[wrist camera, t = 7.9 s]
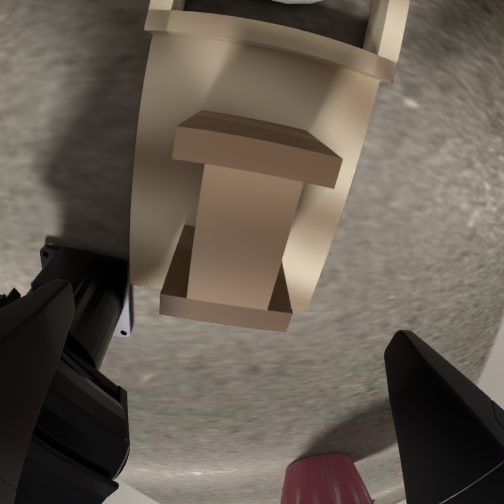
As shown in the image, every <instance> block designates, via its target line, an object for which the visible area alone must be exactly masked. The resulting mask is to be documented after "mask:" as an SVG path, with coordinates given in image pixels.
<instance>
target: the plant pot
mask: <svg viewBox="0 0 504 504" xmlns="http://www.w3.org/2000/svg"><path fill="white" fill-rule="evenodd" d="M280 504H373V502H372V499H371V497H370V495H369V493H368V491H367V489H366V487H365V485H364V483H363V481H362V479H361V477H360V475H359V473H358V471H357V469H356V467H355V465H354V463H353V461H352V459H351V457H350V456H348V455H346V454H341V453H329V454H321V455H316V456H311V457H308V458H304V459H301V460H299V461H296V462H294V463H293V464H291V465H290V466H289V467H288V468H287V469H286V473H285V479H284V485H283V490H282V496H281V502H280Z"/></svg>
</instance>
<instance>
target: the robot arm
mask: <svg viewBox="0 0 504 504" xmlns="http://www.w3.org/2000/svg"><path fill="white" fill-rule="evenodd" d="M46 252H48V254H47V253H46ZM40 257H41V263H42V270H41V272H40V273H39V274H38V275H37V277H36V278H35V279H34V280H33V282H32V283H31V289H30V290H29V292H28V293H27V294H26V295H25V296H23V297H20V296H21V294H20V293H19V292H18V291H17V290H16V289H15V288H13V289H12V290H11V291H10V293H9V294H8V295H7V296H6V295H5V294H3V295H0V504H102V502H103V501H104V500H105V499H106V498H107V497H108V496H110V495H111V494H112V493H113V492H115V491H116V490H117V489H118V487H119V484H118V483H117V482H115V481H113V480H114V479H115V478H117V476H118V475H119V474H120V473H121V472H122V470H123V468H124V466H125V464H126V462H127V459H128V456H129V451H130V439H129V425H128V406H127V391H126V390H124V389H123V388H122V387H120V386H117V385H116V384H114V383H113V382H112V381H110V380H109V379H108V378H107V377H105V376H104V375H103V374H102V373H101V372H99V369H100V366H101V364H102V361H103V358H104V356H105V353H106V351H107V348H108V346H109V343H110V341H111V338H112V336H113V335H114V336H118V337H123V338H128V337H129V336H130V334H131V331H132V329H131V309H130V267H129V264H128V262H127V261H126V260H124V259H121V258H115V257H110V256H104V255H99V254H96V253H93V252H88V251H82V250H77V249H72V248H67V247H56V246H51V245H44V246H43V247H42V248H41V250H40ZM119 266H122V267H123V268H124V269H121V268H120V267H119ZM123 330H124V331H123ZM125 331H126V332H125ZM384 360H385V368H386V375H387V384H388V392H389V400H390V406H391V411H392V416H393V421H394V426H395V431H396V437H397V442H398V448H399V454H400V460H401V466H402V472H403V479H404V486H405V494H406V502H407V504H504V410H503V409H502V408H501V407H500V406H499V405H497V404H496V403H495V402H494V401H493V400H491V399H490V398H489V397H488V396H487V395H486V394H485V393H484V392H483V391H482V390H480V389H479V388H478V387H477V386H476V385H475V384H474V383H472V382H471V381H470V380H469V379H468V378H467V377H465V376H464V375H463V374H462V373H461V372H460V371H458V370H457V369H456V368H455V367H454V366H453V365H451V364H450V363H449V362H448V361H447V360H445V359H444V358H443V357H442V356H441V355H440V354H438V353H437V352H436V351H435V350H434V349H432V348H431V347H430V346H429V345H428V344H426V343H425V342H424V341H423V340H422V339H420V338H419V337H418V336H417V335H416V334H414V333H413V332H412V331H410V330H398V331H397V332H396V333H395V335H394V336H393V338H392V340H391V341H390V343H389V344H388V346H387V348H386V349H385V353H384Z"/></svg>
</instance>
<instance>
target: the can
mask: <svg viewBox="0 0 504 504" xmlns="http://www.w3.org/2000/svg"><path fill="white" fill-rule="evenodd" d="M273 1H278V2H282V3H286V4H292V3H315V2H319V1H322V0H273Z"/></svg>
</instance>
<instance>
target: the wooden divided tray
mask: <svg viewBox="0 0 504 504" xmlns="http://www.w3.org/2000/svg"><path fill="white" fill-rule="evenodd" d="M409 2H410V0H373V1H372V6H371V11H370V16H369V21H368V25H367V30H366V34H365V39H364V43H363V48H362V49H360V48H358V47H355V46H352V45H349V44H346V43H343V42H340V41H337V40H334V39H330V38H327V37H324V36H320V35H317V34H313V33H310V32H306V31H302V30H298V29H294V28H290V27H286V26H282V25H277V24H273V23H268V22H263V21H258V20H252V19H246V18H240V17H234V16H227V15H220V14H212V13H202V12H191V11H183V8H184V4H185V0H151V1H150V5H149V9H148V13H147V17H146V22H145V26H144V30H145V31H147V32H149V33H151V34H153V36H152V41H151V45H150V50H149V56H148V61H147V66H146V72H145V78H144V84H143V90H142V97H141V104H140V111H139V119H138V127H137V136H136V145H135V155H134V167H133V180H132V196H131V217H130V284H133V285H138V286H144V287H150V288H155V289H161V293H160V313H159V314H162V315H167V316H173V317H179V318H185V319H191V320H198V321H204V322H211V323H218V324H225V325H232V326H239V327H247V328H254V329H263V330H271V331H280V332H286V330H287V327H288V325H289V322H290V319H291V317H292V314H293V313H292V309H295V310H304V311H306V310H307V308H308V305H309V303H310V300H311V298H312V295H313V292H314V290H315V287H316V284H317V282H318V279H319V276H320V274H321V271H322V268H323V265H324V263H325V260H326V257H327V254H328V251H329V249H330V246H331V243H332V240H333V237H334V234H335V231H336V228H337V225H338V222H339V219H340V216H341V213H342V210H343V207H344V204H345V201H346V198H347V195H348V192H349V189H350V185H351V182H352V179H353V176H354V173H355V169H356V166H357V163H358V159H359V156H360V153H361V149H362V146H363V142H364V139H365V135H366V132H367V128H368V124H369V121H370V117H371V113H372V109H373V106H374V102H375V98H376V94H377V90H378V86H379V82H393V79H394V74H395V70H396V66H397V62H398V57H399V53H400V48H401V43H402V39H403V34H404V29H405V24H406V18H407V13H408V7H409Z"/></svg>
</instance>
